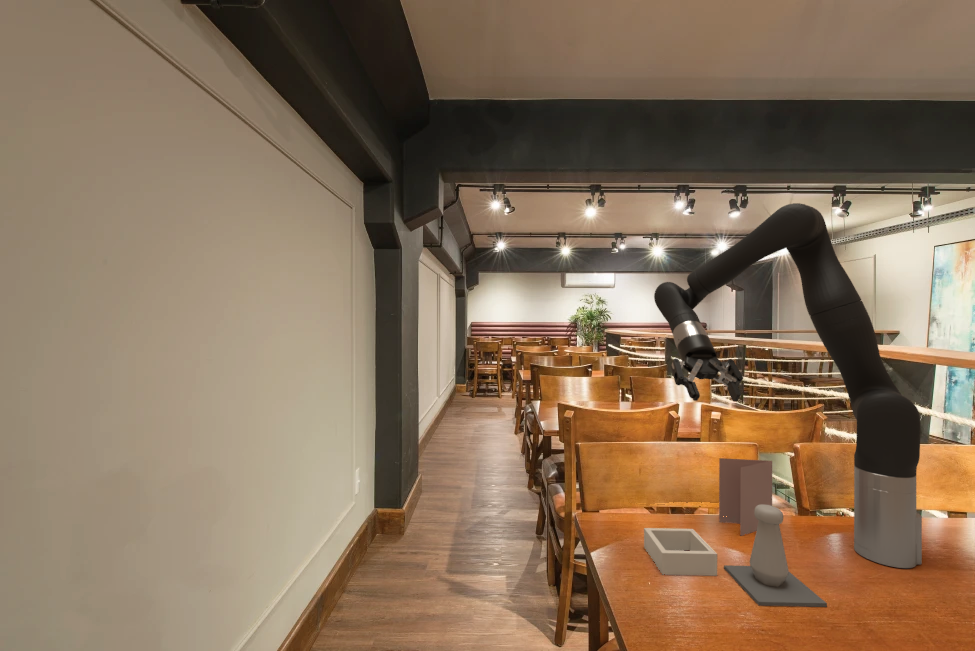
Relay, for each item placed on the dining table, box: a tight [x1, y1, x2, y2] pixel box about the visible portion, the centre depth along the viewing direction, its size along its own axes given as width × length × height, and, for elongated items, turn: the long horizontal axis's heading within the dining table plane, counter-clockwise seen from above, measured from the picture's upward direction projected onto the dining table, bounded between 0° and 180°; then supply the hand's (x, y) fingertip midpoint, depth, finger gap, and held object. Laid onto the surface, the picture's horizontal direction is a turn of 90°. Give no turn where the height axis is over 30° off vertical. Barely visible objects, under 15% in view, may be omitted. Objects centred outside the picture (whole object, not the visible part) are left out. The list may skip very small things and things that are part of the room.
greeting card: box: [718, 457, 773, 537], centre depth 99 cm, size 11×7×15 cm, turn 81°
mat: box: [723, 565, 828, 608], centre depth 77 cm, size 11×11×1 cm
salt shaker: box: [749, 504, 790, 587], centre depth 78 cm, size 6×6×13 cm
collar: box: [643, 527, 718, 577], centre depth 85 cm, size 10×10×4 cm
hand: (717, 398), depth 94 cm, fingers open, 8 cm apart
